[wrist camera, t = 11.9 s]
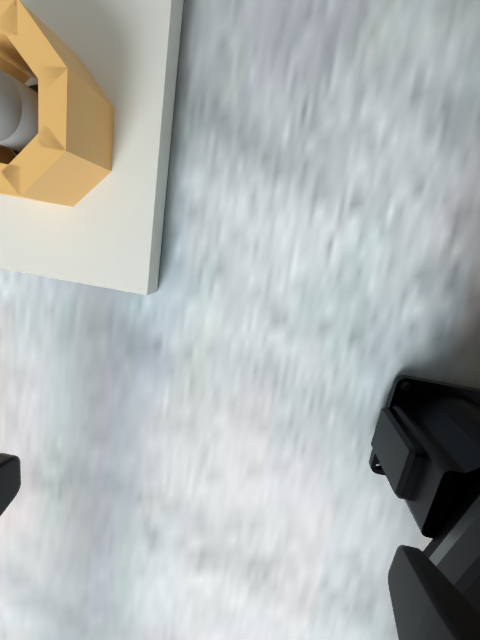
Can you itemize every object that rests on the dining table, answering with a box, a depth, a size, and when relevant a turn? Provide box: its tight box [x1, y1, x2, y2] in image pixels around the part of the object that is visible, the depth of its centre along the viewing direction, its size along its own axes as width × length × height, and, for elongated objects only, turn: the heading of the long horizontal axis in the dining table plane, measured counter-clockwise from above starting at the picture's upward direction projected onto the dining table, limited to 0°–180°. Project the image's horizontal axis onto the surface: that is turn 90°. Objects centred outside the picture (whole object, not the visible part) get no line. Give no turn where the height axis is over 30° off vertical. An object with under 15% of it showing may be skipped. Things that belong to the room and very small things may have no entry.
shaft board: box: [0, 0, 184, 295], centre depth 14 cm, size 12×15×6 cm
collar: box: [0, 0, 115, 207], centre depth 14 cm, size 7×7×4 cm
